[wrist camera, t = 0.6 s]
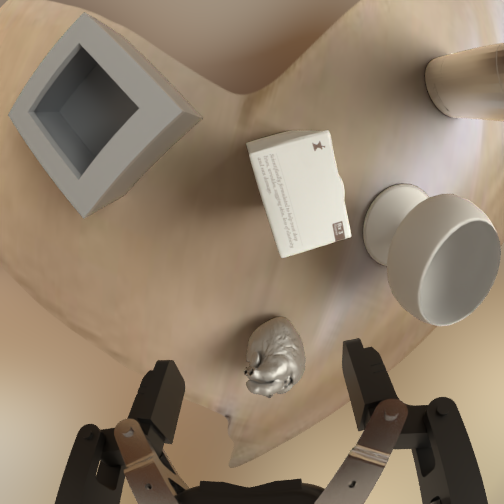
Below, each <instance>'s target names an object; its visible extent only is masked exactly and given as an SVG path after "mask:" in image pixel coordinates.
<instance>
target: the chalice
mask: <svg viewBox="0 0 504 504" xmlns="http://www.w3.org/2000/svg"><path fill="white" fill-rule="evenodd" d="M363 238H364V244H365V247H366V249H367V251H368V253H369V254H370V256H371V257H372V258H373V259H374V260H375V261H376V262H377V263H379V264H381V265H383V266H387V274H388V282H389V285H390V288H391V291H392V293H393V295H394V296H395V298H396V299H397V301H398V302H399V304H400V305H401V306H402V307H403V308H404V309H405V310H406V311H408V312H409V313H410V314H412V315H413V316H415V317H416V318H417V319H419V320H421V321H423V322H425V323H429V324H432V325H436V326H446V325H451V324H454V323H457V322H459V321H460V320H462V319H464V318H466V317H467V316H468V315H469V314H471V313H472V312H473V311H474V310H475V309H476V308H477V307H478V306H479V305H480V304H481V303H482V301H483V300H484V299H485V297H486V296H487V294H488V293H489V291H490V289H491V287H492V285H493V283H494V280H495V278H496V276H497V272H498V268H499V264H500V255H501V251H500V250H501V249H500V241H499V238H498V235H497V232H496V230H495V228H494V226H493V224H492V223H491V221H490V219H489V218H488V217H487V216H486V214H485V213H484V212H483V211H482V210H481V209H479V208H478V207H477V206H476V205H475V204H473V203H472V202H471V201H469V200H468V199H466V198H463V197H460V196H457V195H454V194H441V195H437V196H433V197H428V195H427V194H426V193H425V192H424V191H423V190H422V189H420V188H419V187H417V186H414V185H412V184H397V185H393V186H391V187H389V188H387V189H385V190H384V191H383V192H382V193H380V194H379V195H378V196H377V197H376V199H375V200H374V201H373V202H372V204H371V205H370V207H369V209H368V211H367V213H366V217H365V220H364V226H363Z"/></svg>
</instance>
